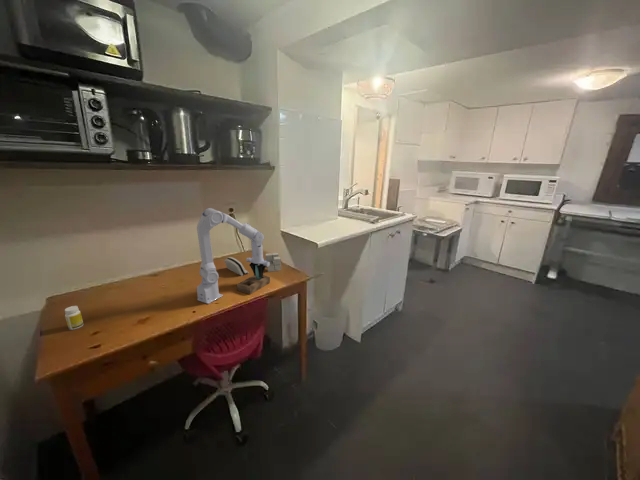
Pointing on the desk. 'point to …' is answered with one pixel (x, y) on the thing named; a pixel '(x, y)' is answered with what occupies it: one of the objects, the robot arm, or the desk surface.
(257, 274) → the peg
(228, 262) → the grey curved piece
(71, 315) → the supplement bottle
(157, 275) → the desk surface
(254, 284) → the hole block
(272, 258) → the puzzle cube
